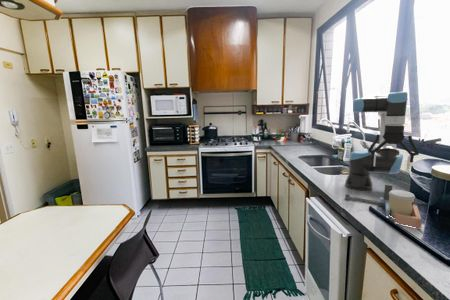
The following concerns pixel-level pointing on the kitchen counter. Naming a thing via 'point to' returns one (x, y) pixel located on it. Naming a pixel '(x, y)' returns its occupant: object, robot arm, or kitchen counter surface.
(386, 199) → the pusher
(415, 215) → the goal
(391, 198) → the coffee cup
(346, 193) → the rail
